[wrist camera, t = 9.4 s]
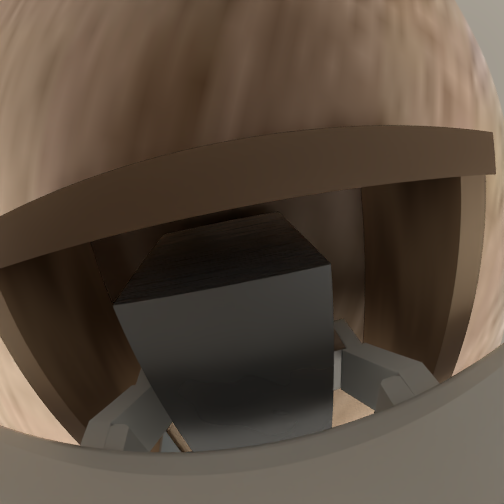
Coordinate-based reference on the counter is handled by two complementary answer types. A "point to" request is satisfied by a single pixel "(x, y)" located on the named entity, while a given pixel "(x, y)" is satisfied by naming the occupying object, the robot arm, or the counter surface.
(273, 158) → the wooden u-shaped block
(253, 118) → the counter surface
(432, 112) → the counter surface
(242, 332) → the dark gray rectangular block
